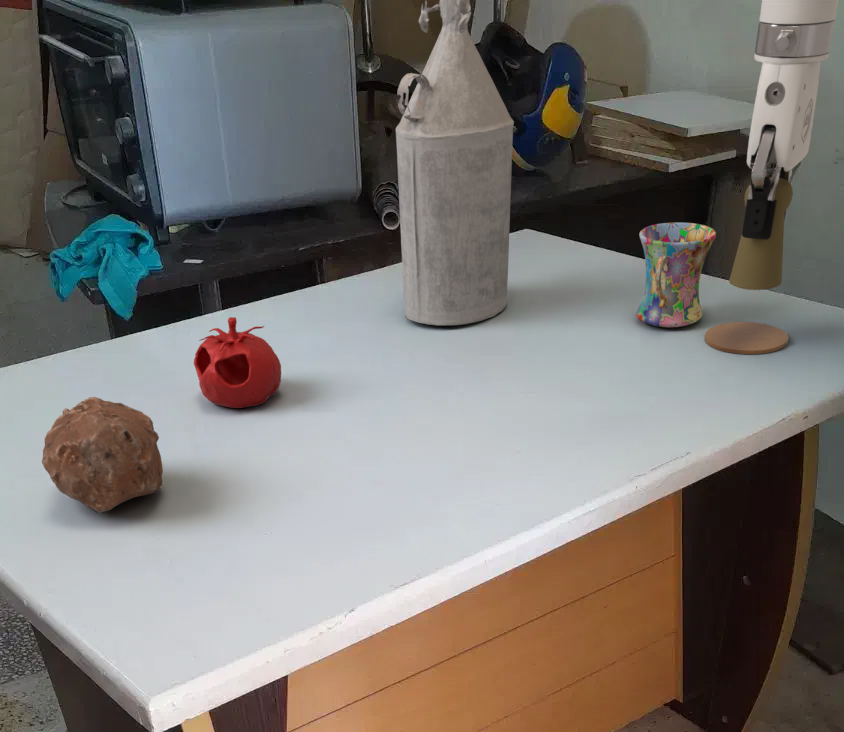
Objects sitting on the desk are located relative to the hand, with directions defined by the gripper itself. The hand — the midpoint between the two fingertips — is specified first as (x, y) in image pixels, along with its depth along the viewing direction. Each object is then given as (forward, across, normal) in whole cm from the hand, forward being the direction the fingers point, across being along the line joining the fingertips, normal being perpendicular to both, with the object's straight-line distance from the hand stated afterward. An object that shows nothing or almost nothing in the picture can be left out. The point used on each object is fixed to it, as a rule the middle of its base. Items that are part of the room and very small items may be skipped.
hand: (763, 229), depth 118 cm
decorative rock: (+13, -65, +46) cm, 81 cm away
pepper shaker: (+6, 0, 0) cm, 6 cm away
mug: (+13, +2, +11) cm, 17 cm away
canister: (+13, -3, +39) cm, 41 cm away
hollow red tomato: (+13, -39, +49) cm, 64 cm away
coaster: (+13, 0, 0) cm, 13 cm away
